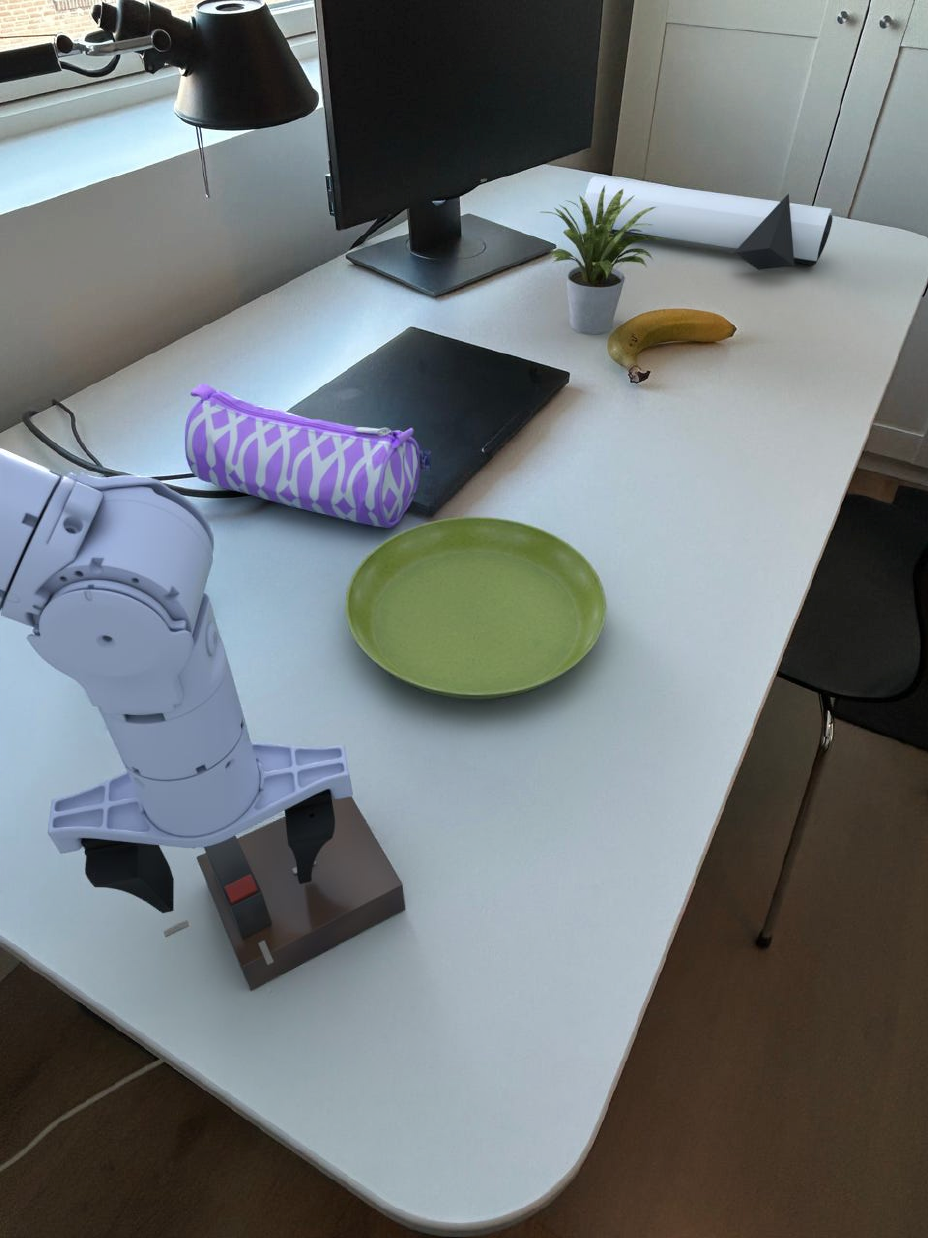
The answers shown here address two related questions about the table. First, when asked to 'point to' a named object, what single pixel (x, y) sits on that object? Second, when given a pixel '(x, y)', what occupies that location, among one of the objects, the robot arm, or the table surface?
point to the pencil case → (303, 459)
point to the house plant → (598, 264)
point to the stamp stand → (309, 894)
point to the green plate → (475, 607)
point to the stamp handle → (238, 886)
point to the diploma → (720, 221)
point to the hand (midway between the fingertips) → (236, 882)
